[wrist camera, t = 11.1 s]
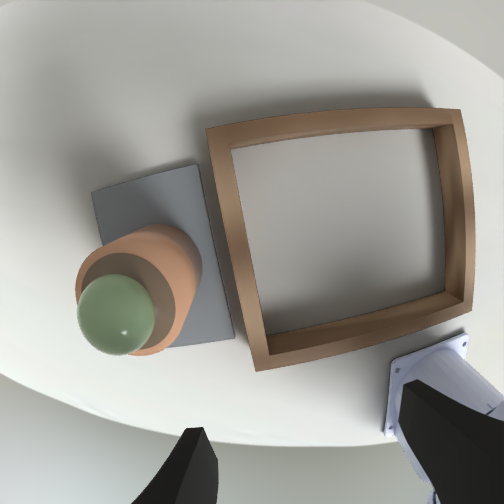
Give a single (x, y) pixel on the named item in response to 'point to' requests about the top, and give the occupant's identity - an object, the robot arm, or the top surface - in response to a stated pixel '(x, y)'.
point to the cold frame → (375, 323)
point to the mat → (184, 218)
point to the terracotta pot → (138, 290)
